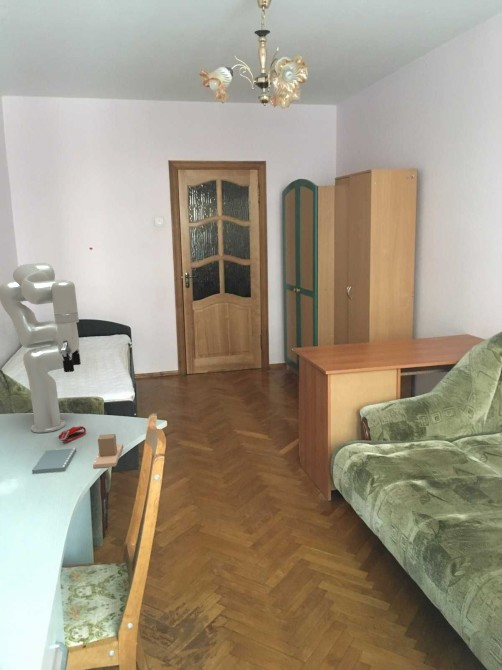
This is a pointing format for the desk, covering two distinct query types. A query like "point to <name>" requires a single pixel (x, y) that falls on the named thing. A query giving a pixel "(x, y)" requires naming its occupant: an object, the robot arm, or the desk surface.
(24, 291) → the robot arm
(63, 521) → the desk surface
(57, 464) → the board
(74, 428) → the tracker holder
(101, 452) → the stub
